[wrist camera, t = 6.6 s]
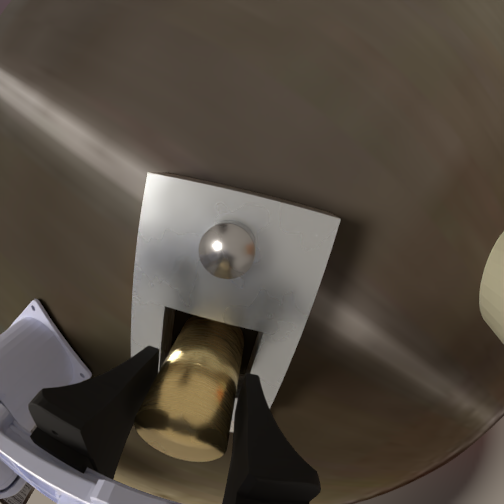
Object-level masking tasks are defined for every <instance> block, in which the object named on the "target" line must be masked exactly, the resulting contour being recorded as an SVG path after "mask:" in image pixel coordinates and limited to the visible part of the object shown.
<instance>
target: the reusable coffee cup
mask: <svg viewBox="0 0 504 504" xmlns="http://www.w3.org/2000/svg"><path fill="white" fill-rule="evenodd" d="M479 305H480V312H481V315H482V318H483V319H484V320H485V322H486V323H487V324H488V325H489V327H490V328H491V329H492V330H493V332H494V333H495V334H496V335H497V337H498V338H499V339H500V341H501V342H502V343H503V345H504V231H503V233H502V234H501V236H500V237H499V238H498V240H497V241H496V243H495V245H494V247H493V248H492V251H491V253H490V255H489V257H488V260H487V263H486V266H485V269H484V272H483V276H482V280H481V286H480V293H479Z"/></svg>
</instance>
